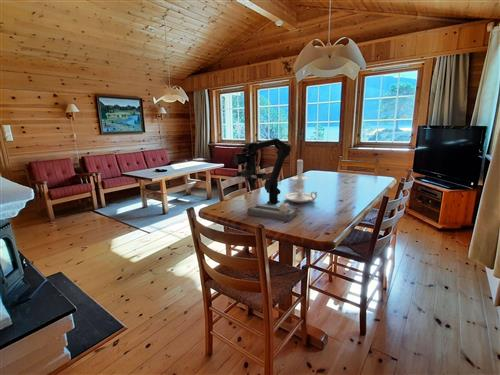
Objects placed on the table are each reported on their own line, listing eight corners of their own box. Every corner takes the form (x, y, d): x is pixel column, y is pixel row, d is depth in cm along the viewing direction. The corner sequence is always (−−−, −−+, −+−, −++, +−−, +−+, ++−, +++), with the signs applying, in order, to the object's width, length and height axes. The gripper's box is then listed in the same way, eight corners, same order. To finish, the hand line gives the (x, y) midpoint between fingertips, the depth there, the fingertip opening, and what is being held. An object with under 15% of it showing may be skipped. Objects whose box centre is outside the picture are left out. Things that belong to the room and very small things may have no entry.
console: (257, 208, 166) (257, 203, 165) (297, 214, 153) (297, 208, 152) (247, 214, 156) (247, 208, 156) (288, 221, 143) (288, 215, 142)
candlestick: (306, 209, 162) (307, 163, 156) (277, 200, 181) (277, 159, 175) (327, 202, 175) (328, 159, 168) (298, 195, 194) (298, 156, 187)
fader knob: (282, 211, 153) (282, 202, 152) (289, 212, 151) (289, 203, 149) (279, 213, 149) (279, 204, 148) (286, 214, 147) (286, 205, 146)
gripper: (230, 164, 162) (232, 189, 166) (257, 166, 153) (258, 192, 156) (240, 162, 171) (241, 185, 175) (266, 163, 162) (267, 188, 165)
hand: (251, 188), depth 168 cm, fingers closed
